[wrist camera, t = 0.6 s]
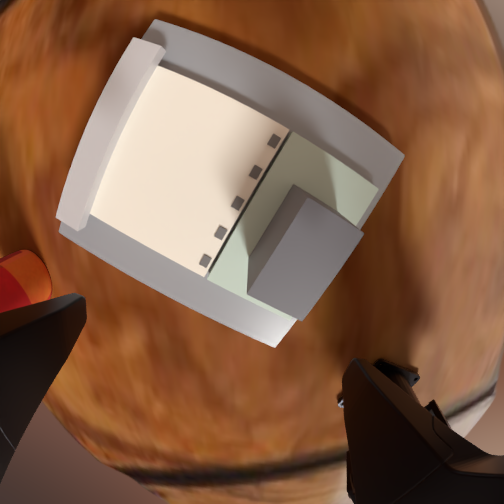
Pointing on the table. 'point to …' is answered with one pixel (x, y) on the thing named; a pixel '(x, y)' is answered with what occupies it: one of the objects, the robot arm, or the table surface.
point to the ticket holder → (197, 164)
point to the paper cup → (23, 280)
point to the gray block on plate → (294, 231)
